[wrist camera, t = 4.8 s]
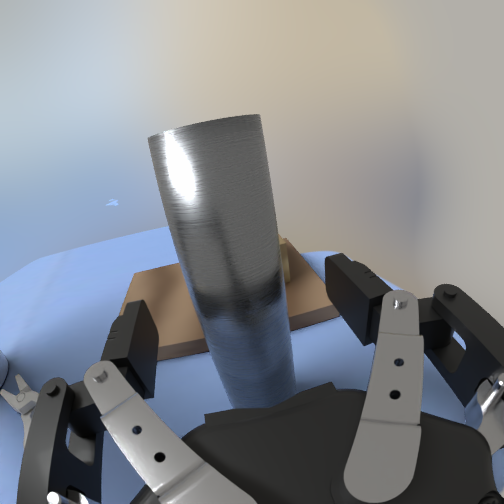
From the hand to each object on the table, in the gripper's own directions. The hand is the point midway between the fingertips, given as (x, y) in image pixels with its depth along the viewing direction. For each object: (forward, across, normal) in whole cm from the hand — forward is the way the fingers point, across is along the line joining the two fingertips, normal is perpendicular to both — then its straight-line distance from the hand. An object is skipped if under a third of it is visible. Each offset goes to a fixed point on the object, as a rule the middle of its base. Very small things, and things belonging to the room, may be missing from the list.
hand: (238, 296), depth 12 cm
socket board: (+14, +2, +9) cm, 17 cm away
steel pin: (0, 0, +9) cm, 9 cm away
